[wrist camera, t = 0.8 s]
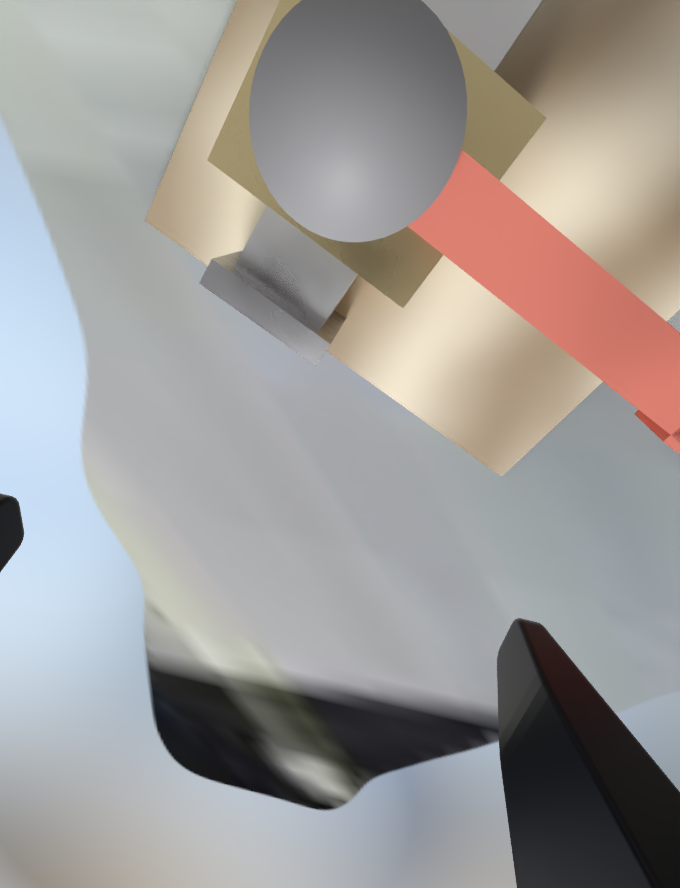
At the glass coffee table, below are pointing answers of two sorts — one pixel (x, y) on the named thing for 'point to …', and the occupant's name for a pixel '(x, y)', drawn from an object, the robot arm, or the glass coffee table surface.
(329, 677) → the glass coffee table surface
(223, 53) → the board
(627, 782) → the robot arm
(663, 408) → the lever
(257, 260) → the valve body
